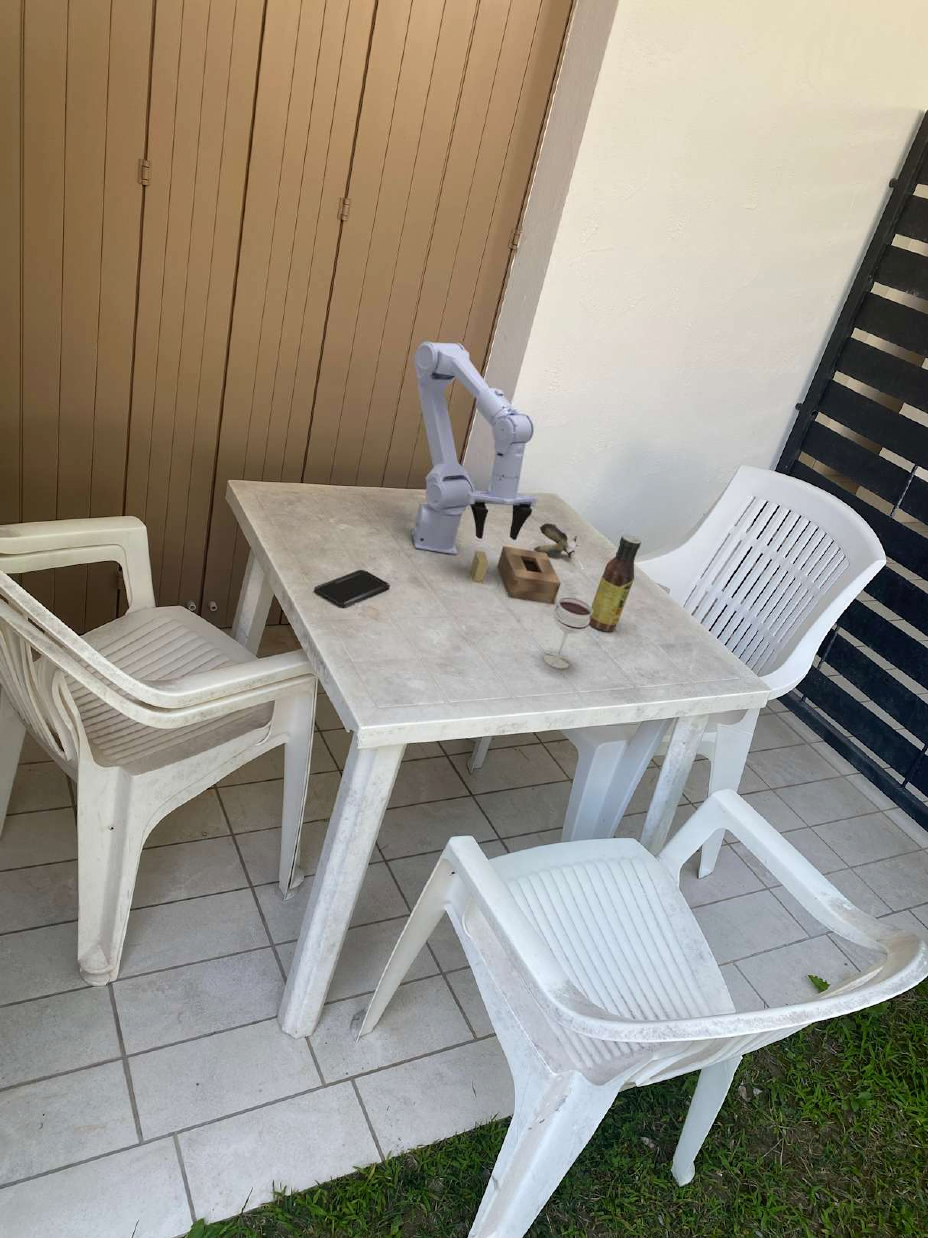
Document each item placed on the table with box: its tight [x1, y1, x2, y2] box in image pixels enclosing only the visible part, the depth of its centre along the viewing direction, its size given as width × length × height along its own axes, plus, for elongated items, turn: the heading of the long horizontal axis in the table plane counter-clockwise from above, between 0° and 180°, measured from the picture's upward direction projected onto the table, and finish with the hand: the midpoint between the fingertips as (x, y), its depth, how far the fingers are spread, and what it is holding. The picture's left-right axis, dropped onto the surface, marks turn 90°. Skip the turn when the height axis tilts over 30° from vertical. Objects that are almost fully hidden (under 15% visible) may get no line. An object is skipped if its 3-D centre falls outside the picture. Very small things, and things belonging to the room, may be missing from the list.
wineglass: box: [543, 596, 593, 669], centre depth 172 cm, size 7×7×12 cm
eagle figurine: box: [533, 522, 579, 559], centre depth 218 cm, size 8×7×9 cm
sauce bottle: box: [589, 534, 642, 632], centre depth 188 cm, size 6×6×20 cm
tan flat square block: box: [469, 550, 489, 584], centre depth 197 cm, size 2×5×5 cm, turn 8°
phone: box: [313, 569, 391, 609], centre depth 180 cm, size 8×1×15 cm
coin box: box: [497, 545, 562, 605], centre depth 200 cm, size 10×14×5 cm
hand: (495, 537), depth 194 cm, fingers open, 7 cm apart
